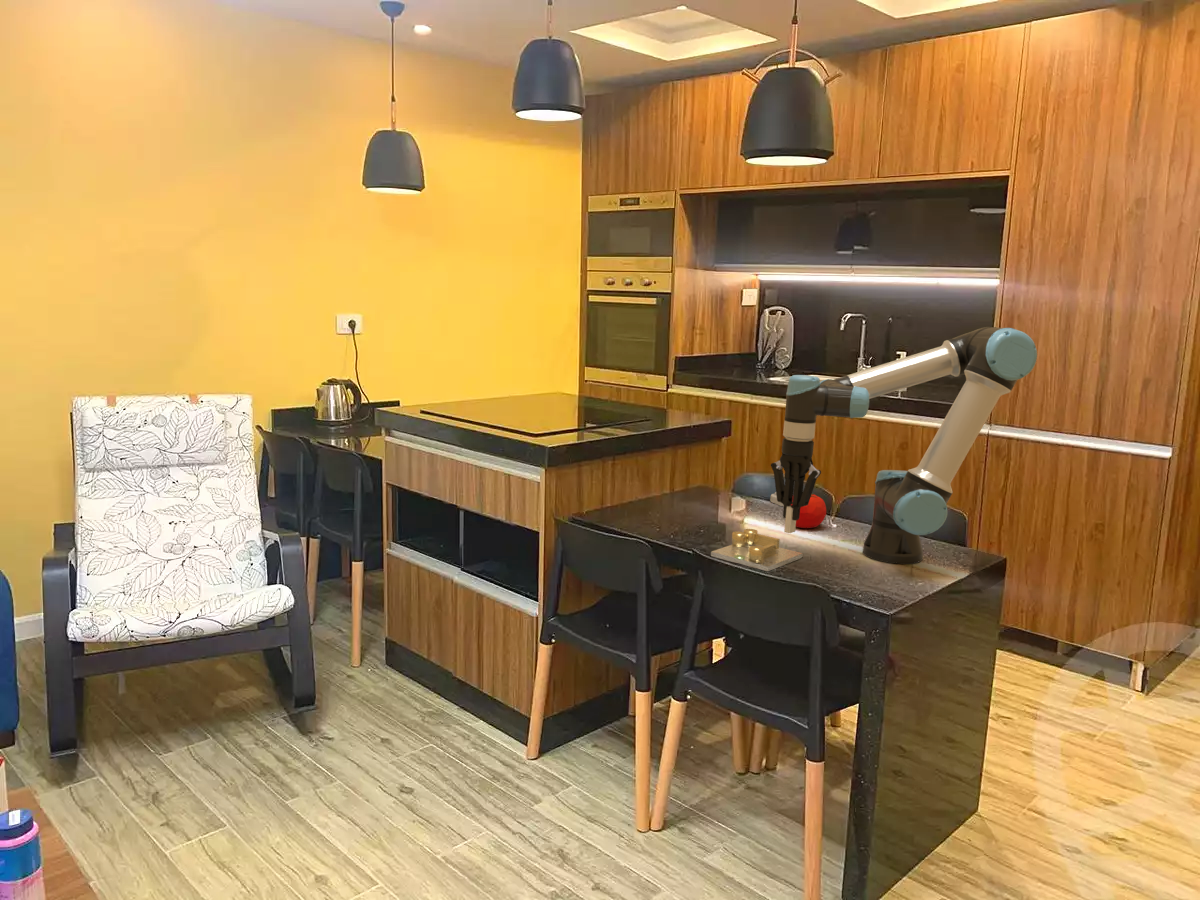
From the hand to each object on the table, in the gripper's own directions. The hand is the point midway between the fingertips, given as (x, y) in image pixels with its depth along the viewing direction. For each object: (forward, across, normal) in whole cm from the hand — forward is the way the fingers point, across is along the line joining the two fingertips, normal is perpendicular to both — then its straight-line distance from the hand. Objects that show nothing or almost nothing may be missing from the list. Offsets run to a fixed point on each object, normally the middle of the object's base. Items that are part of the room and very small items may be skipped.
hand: (789, 531), depth 222 cm
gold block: (+8, +12, -7) cm, 16 cm away
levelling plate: (+9, +10, -1) cm, 13 cm away
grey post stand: (+9, +33, -59) cm, 68 cm away
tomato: (+9, +16, -39) cm, 43 cm away
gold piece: (+8, +6, +2) cm, 10 cm away
